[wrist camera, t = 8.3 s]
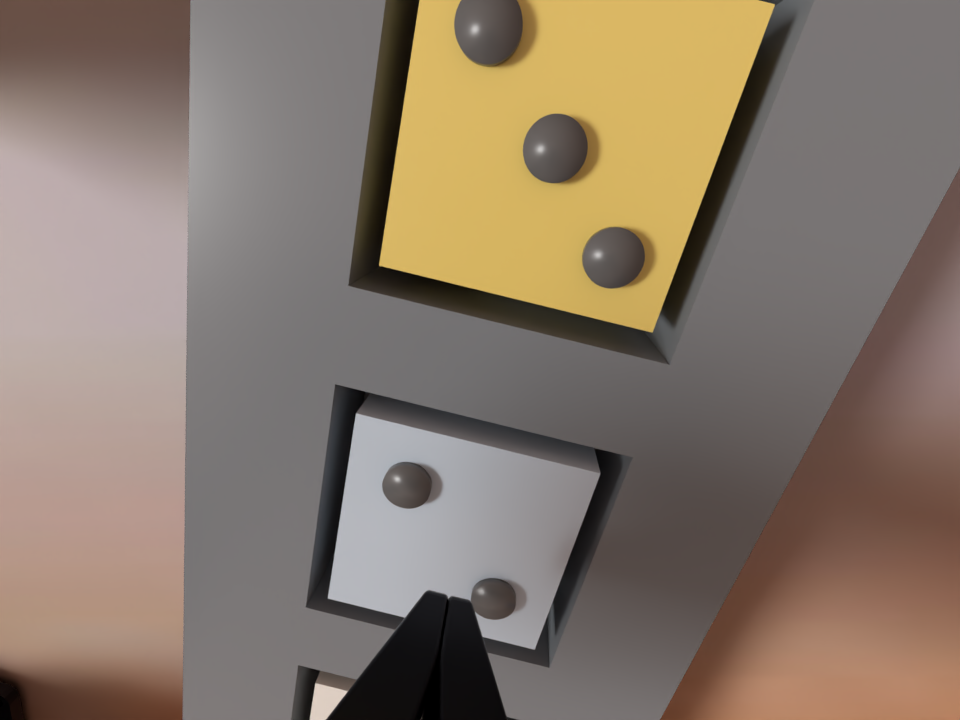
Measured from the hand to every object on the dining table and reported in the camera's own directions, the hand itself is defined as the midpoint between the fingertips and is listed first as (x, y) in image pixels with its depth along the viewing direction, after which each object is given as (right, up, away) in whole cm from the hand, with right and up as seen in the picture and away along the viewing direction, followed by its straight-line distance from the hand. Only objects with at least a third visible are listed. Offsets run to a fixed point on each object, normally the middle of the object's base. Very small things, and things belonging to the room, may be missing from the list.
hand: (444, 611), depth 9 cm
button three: (+2, +9, +1) cm, 9 cm away
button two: (0, +1, +4) cm, 4 cm away
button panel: (0, +2, +5) cm, 5 cm away
